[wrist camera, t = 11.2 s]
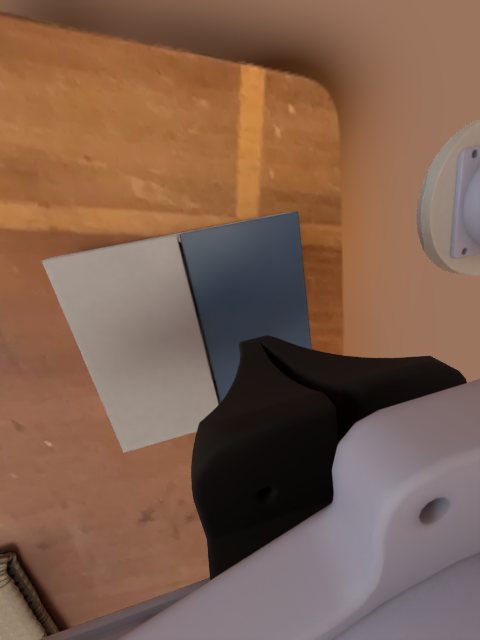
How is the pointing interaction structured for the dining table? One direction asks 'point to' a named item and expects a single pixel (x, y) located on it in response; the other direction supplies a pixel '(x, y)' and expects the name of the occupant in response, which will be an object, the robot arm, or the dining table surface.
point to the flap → (247, 287)
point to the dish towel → (21, 604)
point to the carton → (139, 336)
